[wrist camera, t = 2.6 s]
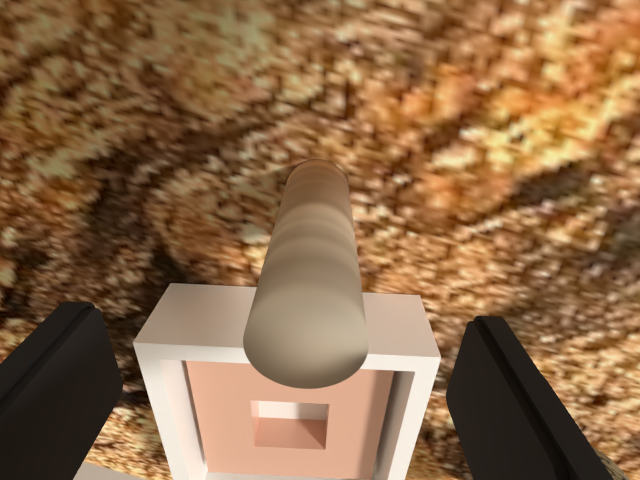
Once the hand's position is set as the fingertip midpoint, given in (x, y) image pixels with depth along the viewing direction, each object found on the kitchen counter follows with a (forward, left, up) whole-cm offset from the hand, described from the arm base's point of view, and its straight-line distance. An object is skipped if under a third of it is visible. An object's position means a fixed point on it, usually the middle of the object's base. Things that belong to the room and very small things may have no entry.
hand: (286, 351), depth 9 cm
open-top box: (+13, 0, -10) cm, 16 cm away
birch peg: (-1, +1, -10) cm, 9 cm away
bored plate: (+13, 0, -10) cm, 16 cm away
